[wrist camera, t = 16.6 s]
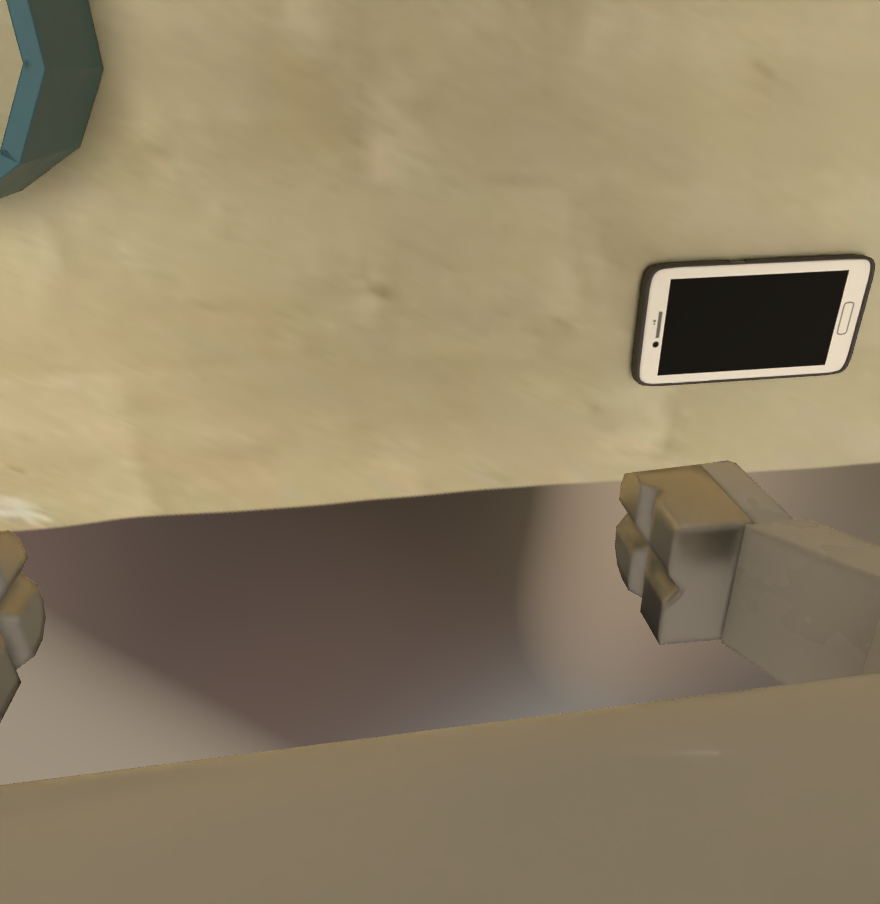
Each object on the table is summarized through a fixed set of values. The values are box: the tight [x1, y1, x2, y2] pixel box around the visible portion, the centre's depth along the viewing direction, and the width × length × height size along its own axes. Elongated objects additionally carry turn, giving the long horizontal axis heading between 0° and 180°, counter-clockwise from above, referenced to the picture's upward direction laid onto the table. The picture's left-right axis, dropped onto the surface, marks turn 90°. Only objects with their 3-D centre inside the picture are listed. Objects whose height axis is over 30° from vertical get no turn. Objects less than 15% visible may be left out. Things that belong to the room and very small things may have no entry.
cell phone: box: [632, 254, 875, 386], centre depth 45 cm, size 8×15×1 cm, turn 91°
